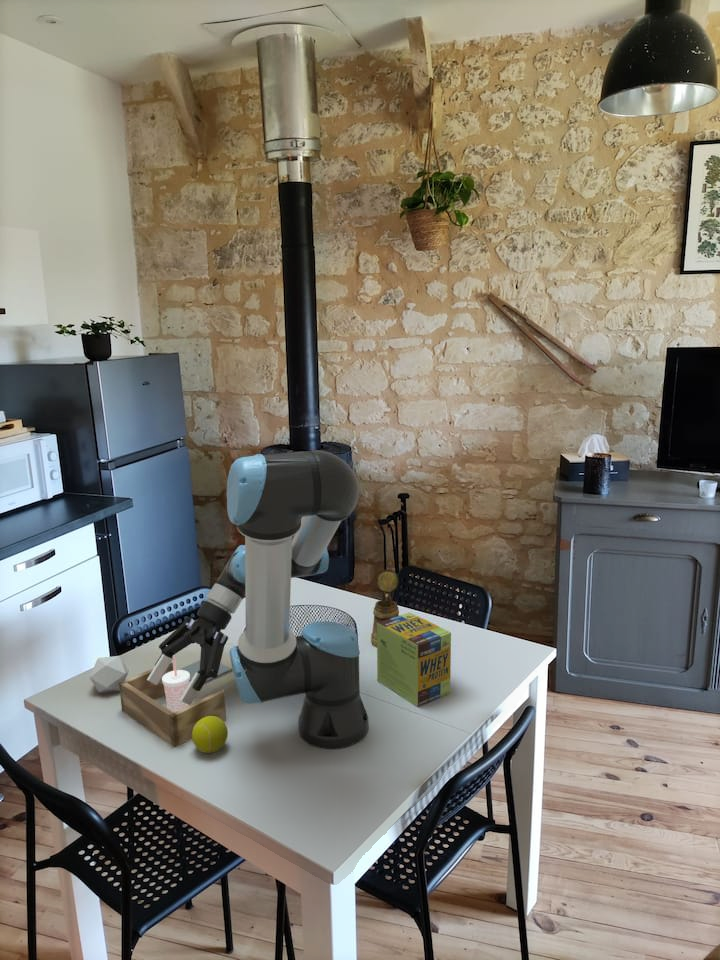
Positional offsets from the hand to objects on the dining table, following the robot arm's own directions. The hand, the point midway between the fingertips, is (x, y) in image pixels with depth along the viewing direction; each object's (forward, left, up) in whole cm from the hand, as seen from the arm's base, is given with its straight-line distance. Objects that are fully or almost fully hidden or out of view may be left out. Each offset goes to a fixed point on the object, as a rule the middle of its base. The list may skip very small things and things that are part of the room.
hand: (167, 692), depth 154 cm
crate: (0, -1, -6) cm, 6 cm away
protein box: (-25, -51, -6) cm, 57 cm away
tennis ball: (-17, -2, -6) cm, 18 cm away
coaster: (+14, -15, -6) cm, 21 cm away
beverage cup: (0, -2, -6) cm, 7 cm away
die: (+21, +6, -6) cm, 23 cm away
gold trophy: (-1, -63, -6) cm, 63 cm away
